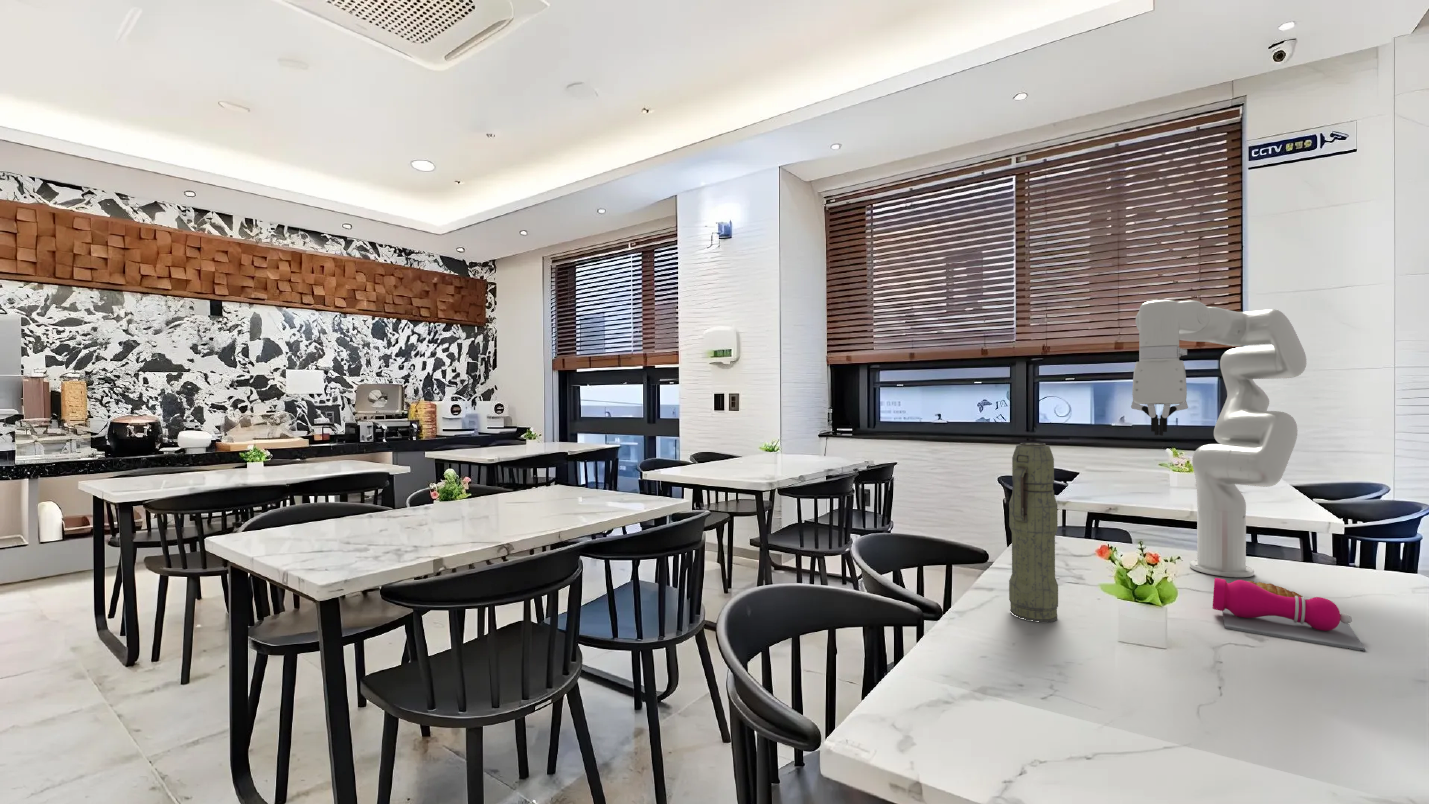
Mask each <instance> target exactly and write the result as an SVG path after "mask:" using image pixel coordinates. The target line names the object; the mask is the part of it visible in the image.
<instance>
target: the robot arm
mask: <svg viewBox="0 0 1429 804" xmlns="http://www.w3.org/2000/svg"><path fill="white" fill-rule="evenodd" d="M1135 326H1136V328H1137V330H1138V333H1139V334H1138V335H1139V341H1138V342H1139V344H1138V345H1139V348H1138V349H1139V351H1138V352H1139V353H1138V354H1139V358H1138V359H1139V361H1136V362H1135V365H1134V369H1133V378H1132V394H1131V395H1132V396H1131V397H1132V401H1131V406H1130V407H1131V409H1133V410H1137V411H1141V412H1144V413H1145V414H1146V415H1147V416H1148V417H1149V418H1150V424H1151V425H1150V432H1151V433H1154V436H1160V437H1162V436H1164V433H1168V418H1169V417H1170V416H1171V415H1172V414H1173V413H1175V412H1177V411H1183V410H1187V409H1188V408H1189V406H1188V401H1187V394H1188V393H1187V391H1188V390H1187V374H1186V368H1185V362H1184V360H1180V358H1181V356H1182V357H1183V356H1188V349H1187V348H1181V347H1180V341H1186V342H1200V343H1201V342H1205V343H1211V344H1212V343H1213V344H1218V345H1224V346H1232V347H1235V348H1230V349H1228V350H1226V351H1224V353H1223V354H1222V355H1221V356H1220V361H1219V365H1220V372H1221V375H1222V378H1223V382H1224V385H1225V389H1226V395H1227V397H1226V399H1225V401H1224V402H1225V403H1224V404H1223V407H1222V409H1221V412H1220V413H1219V416H1218V418H1217V420H1216V423H1215V426H1214V429H1213V437H1214V438H1213V439H1215V441H1216V442H1217V443H1208V444H1204V445H1200V446H1199V447H1198V448H1196V449H1195V451H1194V453H1193V455H1192V469H1193V473H1194V476H1195V477H1194V478H1195V483H1196V497H1197V501H1196V502H1197V505H1196V508H1197V509H1196V513H1197V514H1196V515H1197V516H1196V520H1197V521H1196V523H1197V525H1196V526H1197V527H1196V530H1197V531H1196V533H1197V535H1196V536H1197V537H1196V543H1197V544H1196V545H1197V547H1196V552H1197V553H1196V559H1195V560H1194V559H1193V560H1191V561H1190V562H1189V567H1190V568H1191V569H1192V570H1194V571H1197V572H1199V573H1200V572H1201V573H1203V574H1208V575H1211V576H1212V575H1213V576H1218V577H1225V578H1227V577H1228V578H1249V577H1250V578H1251V577H1253V576H1254V575H1255V570H1254V569H1253V568H1252V567H1249V566H1247V558H1246V557H1247V553H1246V552H1247V551H1246V550H1247V548H1246V547H1247V503H1246V499H1245V497H1244V495H1243V494H1242V492H1241V491H1240V489H1239V488H1238V486H1236V485H1240V486H1252V487H1261V488H1262V487H1263V488H1269V487H1274V486H1276V485H1278V483H1279V482H1280V481H1281V479H1283V476H1284V473H1285V471H1286V469H1287V466H1288V463H1289V461H1290V459H1291V456H1292V454H1293V451H1294V449H1295V445H1296V443H1297V439H1298V425H1297V421H1296V419H1295V418H1294V417H1293V416H1292V415H1291V414H1289V413H1287V412H1284V411H1281V410H1280V411H1278V410H1268V408H1269V406H1270V399H1269V397H1268V395H1267V394H1266V393H1267V392H1265V391H1264V390H1263V389H1262V388H1261V387H1260V386H1259V385H1257V383H1255V381H1254V380H1268V379H1269V380H1270V379H1271V380H1274V379H1276V380H1278V379H1281V380H1282V379H1293V378H1296V377H1299V376H1301V374H1303V373H1304V371H1305V370H1306V366H1307V355H1306V352H1305V350H1304V348H1303V345H1302V343H1301V341H1300V339H1299V337H1298V334H1297V332H1296V330H1295V328H1294V325H1293V324H1292V322H1291V320H1289V318H1288V317H1287V316H1286V315H1285V313H1284V312H1282V311H1281V310H1279V309H1276V308H1275V309H1274V308H1270V309H1259V310H1251V311H1235V310H1231V309H1226V308H1221V307H1217V306H1216V307H1215V306H1207V305H1206V304H1204V303H1203V302H1201V301H1199V300H1183V301H1182V300H1181V301H1175V300H1173V299H1172V300H1169V299H1161V300H1159V299H1158V300H1150V301H1146V302H1144V303H1142V304H1141V305H1140V306H1139V310H1138V312H1137V313H1136V317H1135ZM1155 405H1163V407H1162V408H1163V409H1162V412H1161V415H1159V417H1160V418H1158V413H1157V412H1156V408H1155V407H1156V406H1155ZM1171 405H1172V406H1171Z"/></svg>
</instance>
